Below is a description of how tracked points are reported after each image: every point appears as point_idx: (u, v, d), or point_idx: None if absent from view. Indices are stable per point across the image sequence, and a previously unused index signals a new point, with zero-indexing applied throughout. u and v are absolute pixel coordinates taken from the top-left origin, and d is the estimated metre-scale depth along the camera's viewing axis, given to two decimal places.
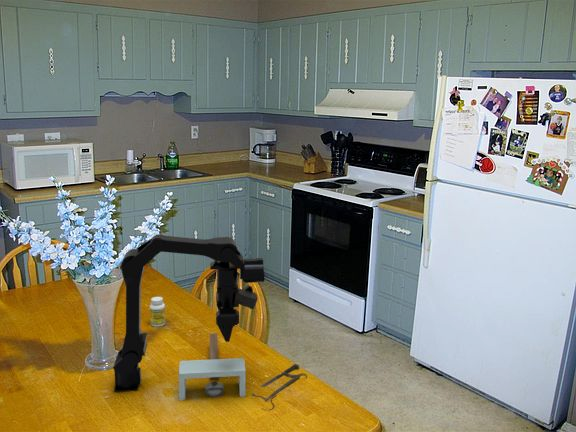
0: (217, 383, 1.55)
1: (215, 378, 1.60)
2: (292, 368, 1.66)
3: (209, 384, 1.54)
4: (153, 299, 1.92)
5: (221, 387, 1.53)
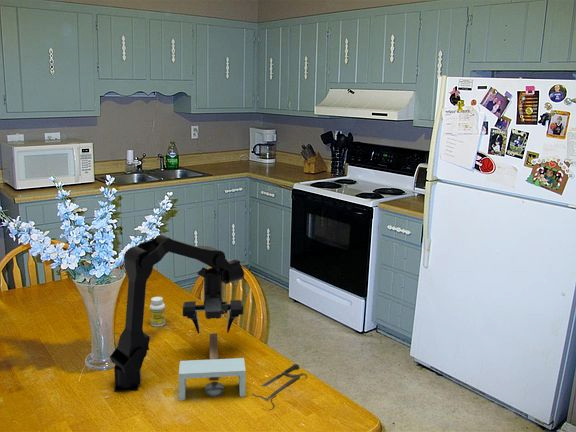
0: (217, 383, 1.55)
1: (215, 378, 1.60)
2: (292, 368, 1.66)
3: (209, 384, 1.54)
4: (153, 299, 1.92)
5: (221, 387, 1.53)
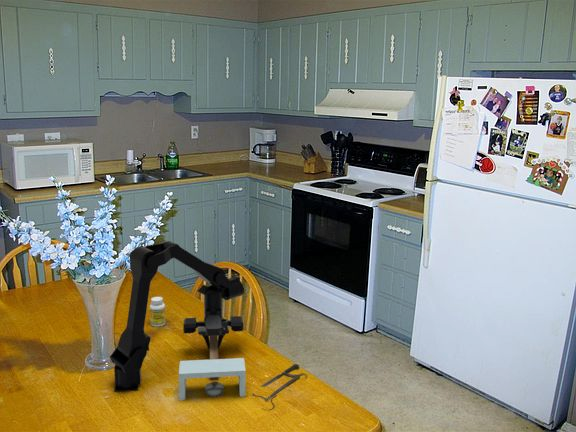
0: (217, 383, 1.55)
1: (215, 378, 1.59)
2: (292, 368, 1.66)
3: (209, 384, 1.54)
4: (153, 299, 1.92)
5: (221, 387, 1.53)
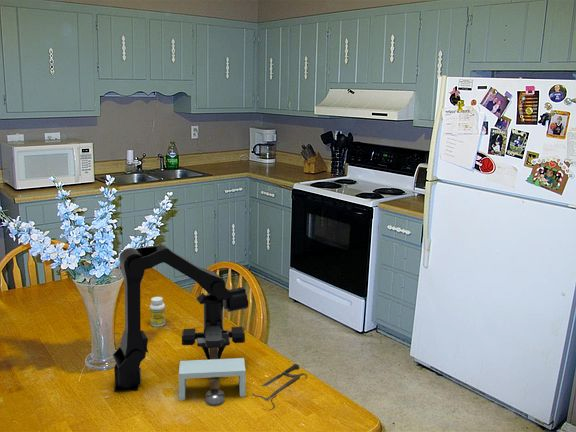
0: (217, 390, 1.51)
1: None
2: (292, 368, 1.66)
3: (209, 392, 1.50)
4: (153, 299, 1.92)
5: (222, 395, 1.49)
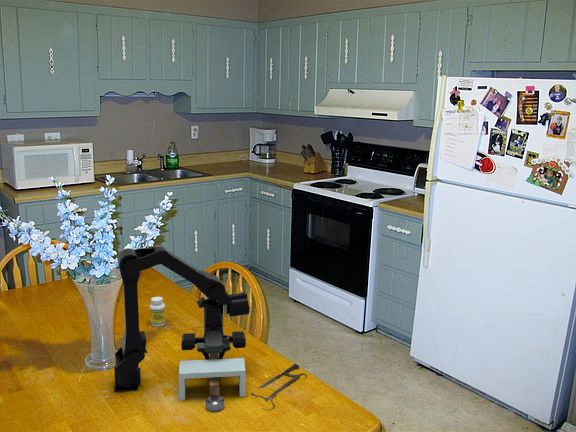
0: (218, 397, 1.48)
1: None
2: (292, 368, 1.66)
3: (209, 398, 1.47)
4: (153, 299, 1.92)
5: (222, 401, 1.46)
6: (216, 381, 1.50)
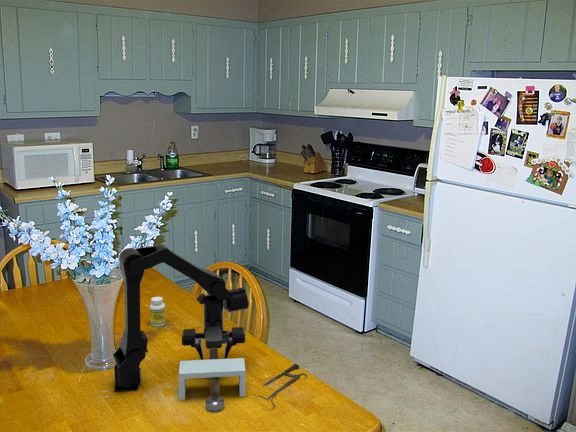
0: (218, 397, 1.48)
1: (216, 394, 1.52)
2: (292, 368, 1.66)
3: (209, 398, 1.47)
4: (153, 299, 1.92)
5: (222, 401, 1.46)
6: None
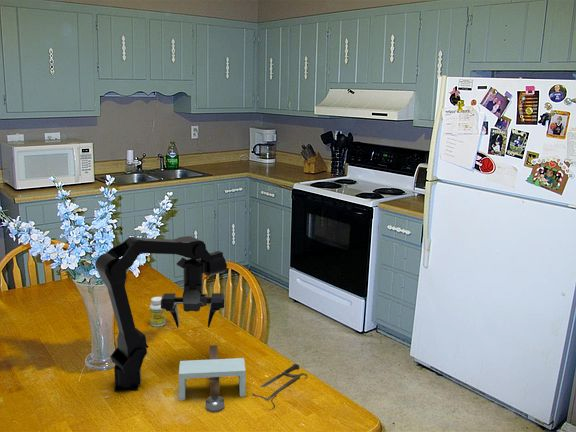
0: (218, 397, 1.48)
1: (216, 394, 1.52)
2: (292, 368, 1.66)
3: (209, 398, 1.47)
4: (153, 299, 1.92)
5: (222, 401, 1.46)
6: None
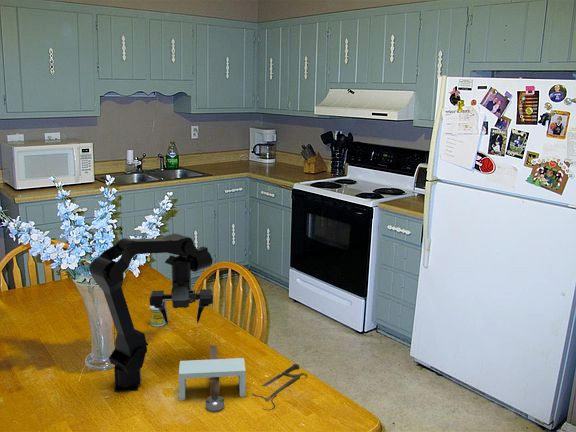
0: (218, 397, 1.48)
1: (216, 394, 1.52)
2: (292, 368, 1.66)
3: (209, 398, 1.47)
4: None
5: (222, 401, 1.46)
6: None
